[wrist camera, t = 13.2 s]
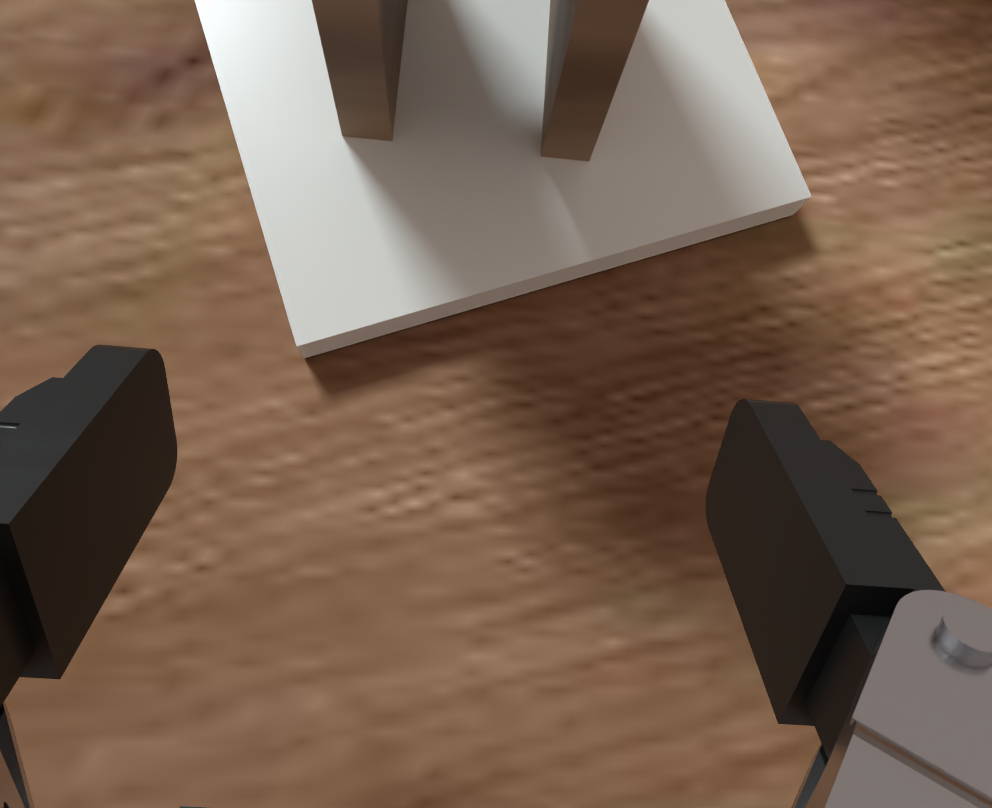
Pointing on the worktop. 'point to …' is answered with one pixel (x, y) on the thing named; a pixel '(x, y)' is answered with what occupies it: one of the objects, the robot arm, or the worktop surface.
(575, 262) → the off-white board
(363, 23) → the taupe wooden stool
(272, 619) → the worktop surface
